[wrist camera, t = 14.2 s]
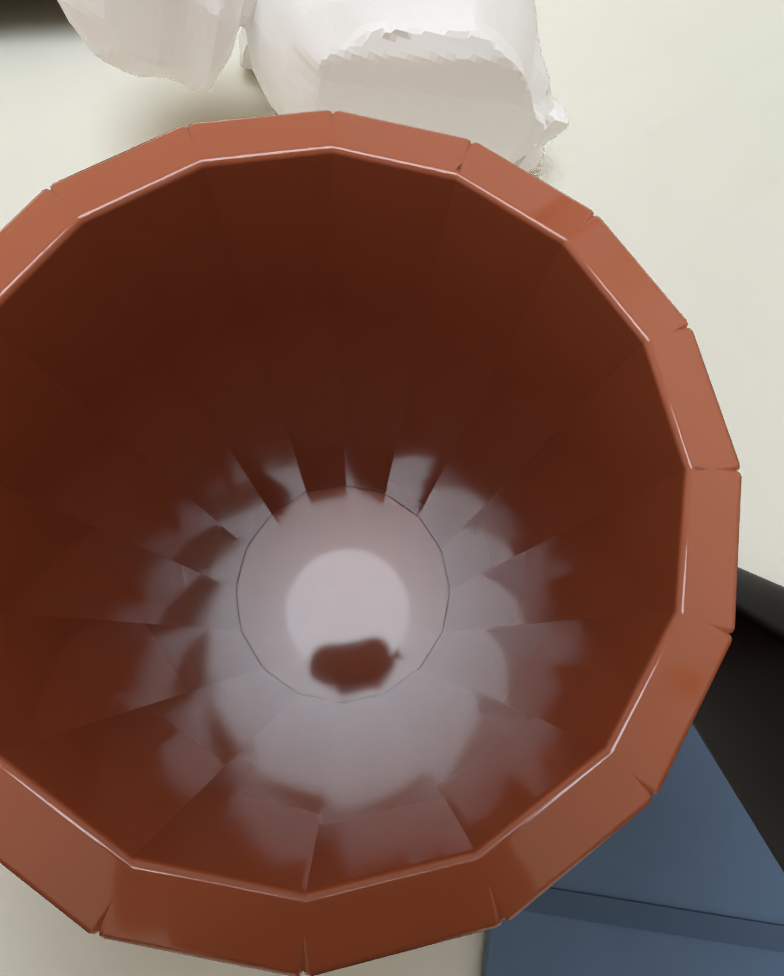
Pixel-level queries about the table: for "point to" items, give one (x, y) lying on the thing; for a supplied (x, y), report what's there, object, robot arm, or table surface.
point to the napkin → (659, 893)
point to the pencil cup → (340, 540)
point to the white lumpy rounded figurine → (351, 59)
